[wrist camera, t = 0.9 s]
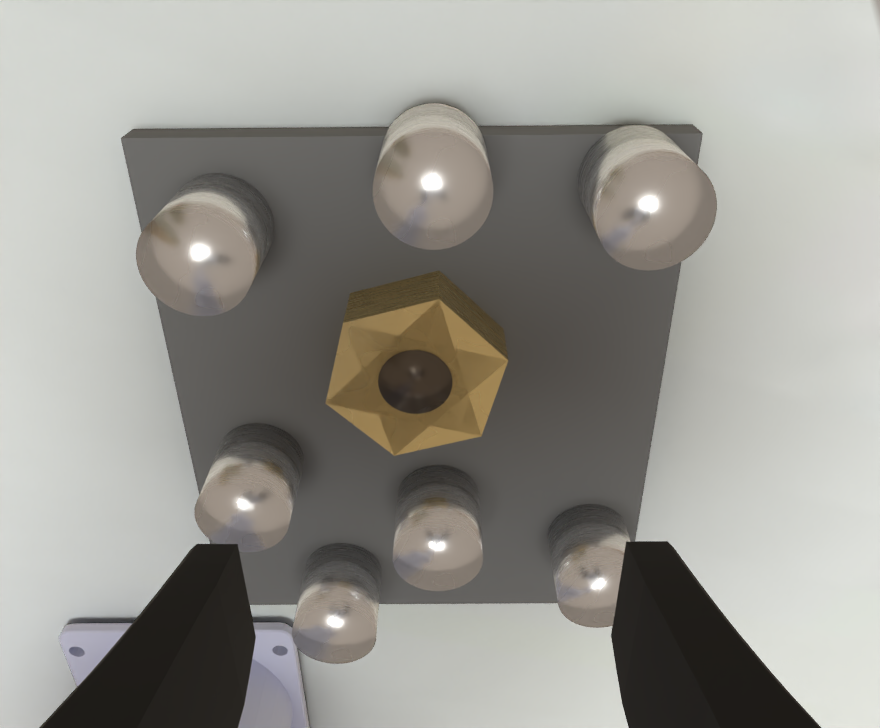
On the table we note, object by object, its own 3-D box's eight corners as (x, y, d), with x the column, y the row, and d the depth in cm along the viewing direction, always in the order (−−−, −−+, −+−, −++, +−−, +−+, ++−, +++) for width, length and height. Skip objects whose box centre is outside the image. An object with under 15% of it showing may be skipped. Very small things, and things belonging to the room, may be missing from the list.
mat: (619, 583, 25) (624, 602, 25) (229, 586, 25) (223, 604, 25) (692, 124, 18) (702, 133, 17) (133, 129, 18) (120, 138, 17)
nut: (520, 391, 21) (526, 427, 19) (357, 428, 21) (351, 465, 20) (484, 258, 19) (488, 287, 17) (306, 304, 19) (296, 335, 18)
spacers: (616, 596, 25) (633, 662, 22) (246, 598, 25) (228, 664, 22) (694, 101, 17) (731, 130, 15) (149, 105, 17) (107, 134, 15)
